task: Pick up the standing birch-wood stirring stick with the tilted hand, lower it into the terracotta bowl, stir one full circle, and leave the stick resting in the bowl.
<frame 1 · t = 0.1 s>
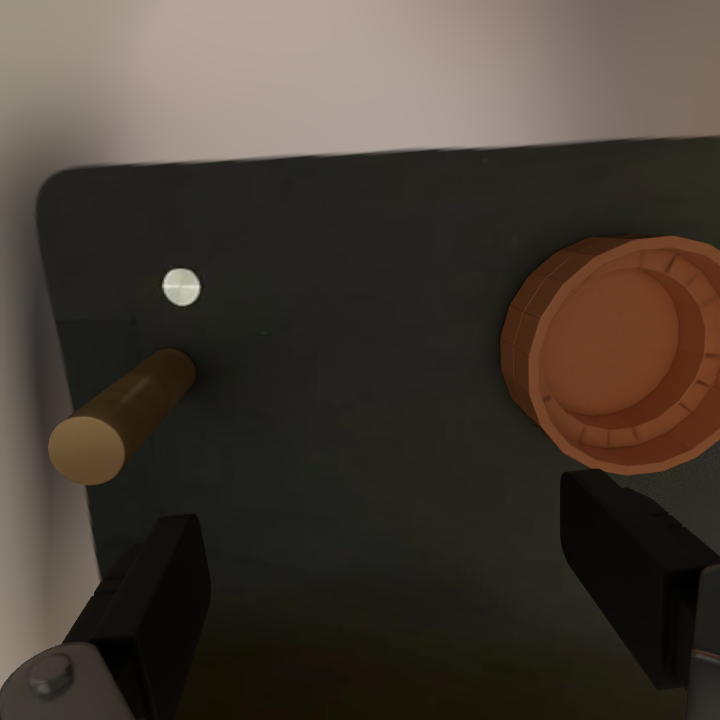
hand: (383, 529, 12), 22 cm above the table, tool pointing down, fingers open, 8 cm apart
bowl: (599, 340, 34), on the table
stick: (171, 371, 33), on the table
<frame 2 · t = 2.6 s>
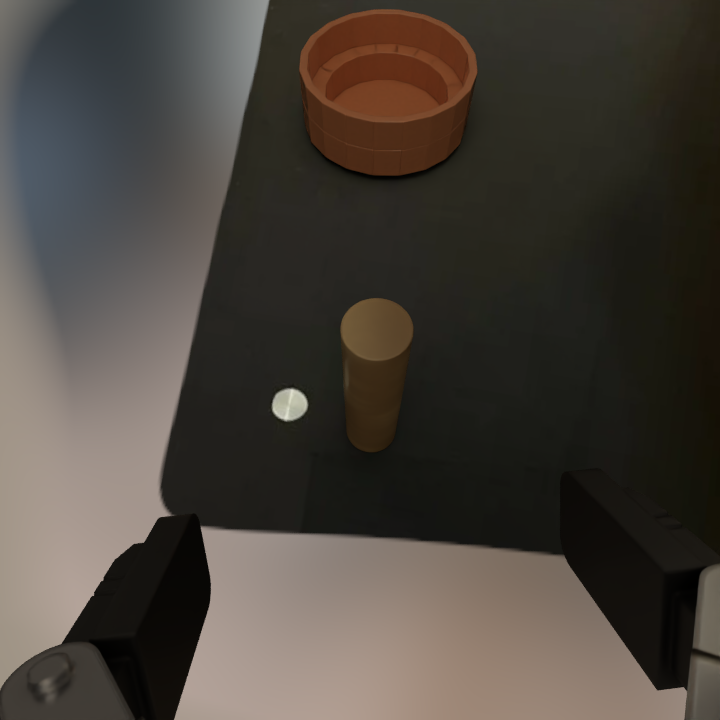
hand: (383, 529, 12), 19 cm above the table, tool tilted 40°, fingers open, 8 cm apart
bowl: (385, 123, 45), on the table
stick: (371, 428, 33), on the table
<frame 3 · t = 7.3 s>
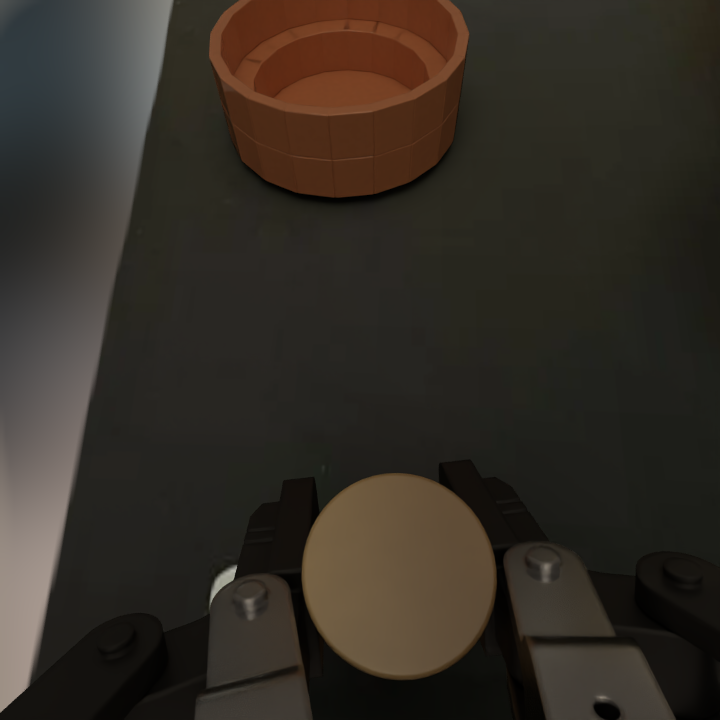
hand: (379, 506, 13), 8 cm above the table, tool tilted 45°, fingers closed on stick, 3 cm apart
bowl: (344, 127, 32), on the table
stick: (386, 627, 19), on the table, touching gripper
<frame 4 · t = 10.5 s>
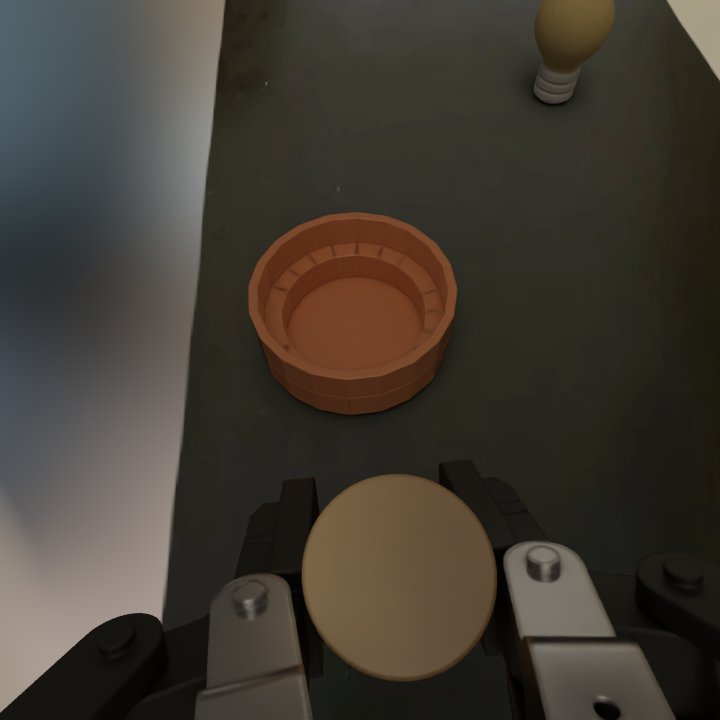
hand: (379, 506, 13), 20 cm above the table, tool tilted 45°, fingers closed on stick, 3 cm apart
bowl: (355, 334, 39), on the table
stick: (386, 627, 19), point 12 cm above the table, touching gripper
light bulb: (550, 98, 52), on the table
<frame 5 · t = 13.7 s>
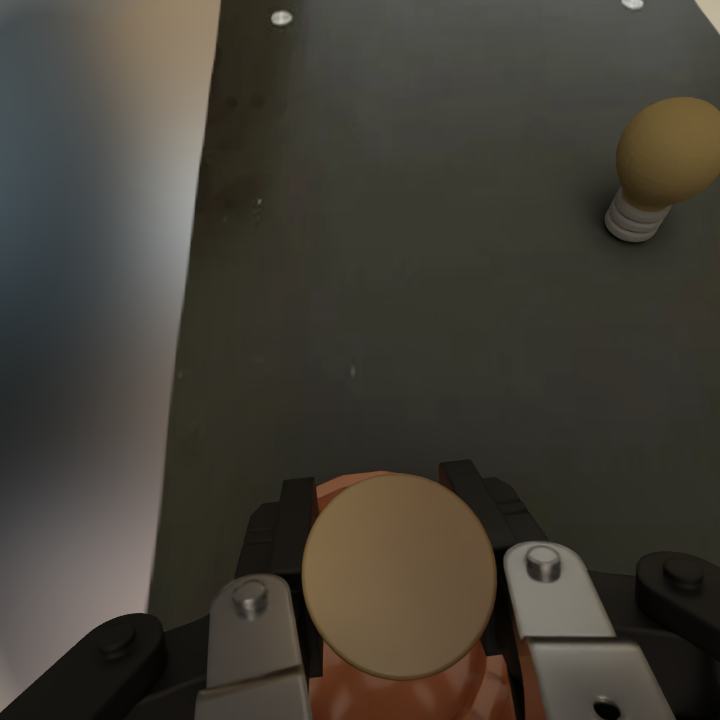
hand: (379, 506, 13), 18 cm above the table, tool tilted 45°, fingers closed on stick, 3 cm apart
bowl: (379, 634, 27), on the table
stick: (386, 627, 19), point 10 cm above the table, touching gripper
light bulb: (625, 230, 41), on the table
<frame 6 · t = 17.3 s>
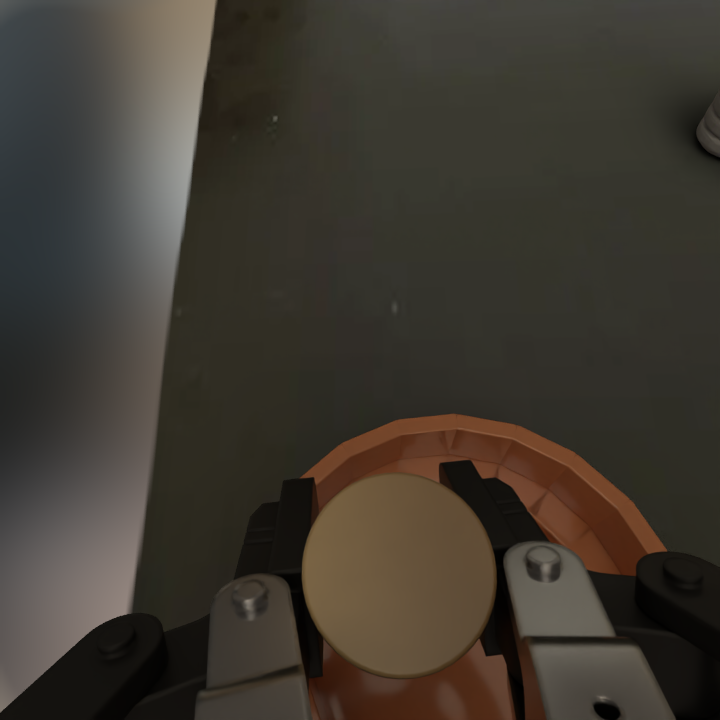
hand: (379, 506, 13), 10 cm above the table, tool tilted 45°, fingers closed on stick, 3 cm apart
bowl: (443, 638, 20), on the table
stick: (386, 626, 19), point 2 cm above the table, touching gripper
when the fingers open (9 cm above the table, at t = 20.1 s): stick stays where it is, resting on bowl.
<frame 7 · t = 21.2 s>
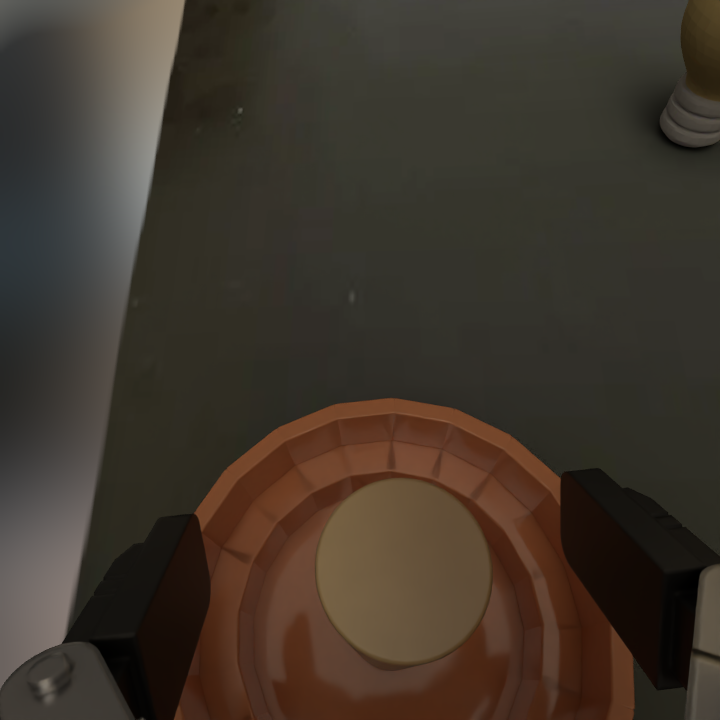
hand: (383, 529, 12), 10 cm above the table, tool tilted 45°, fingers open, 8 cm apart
bowl: (387, 625, 20), on the table
stick: (390, 622, 19), point 1 cm above the table, touching bowl
light bulb: (685, 136, 33), on the table
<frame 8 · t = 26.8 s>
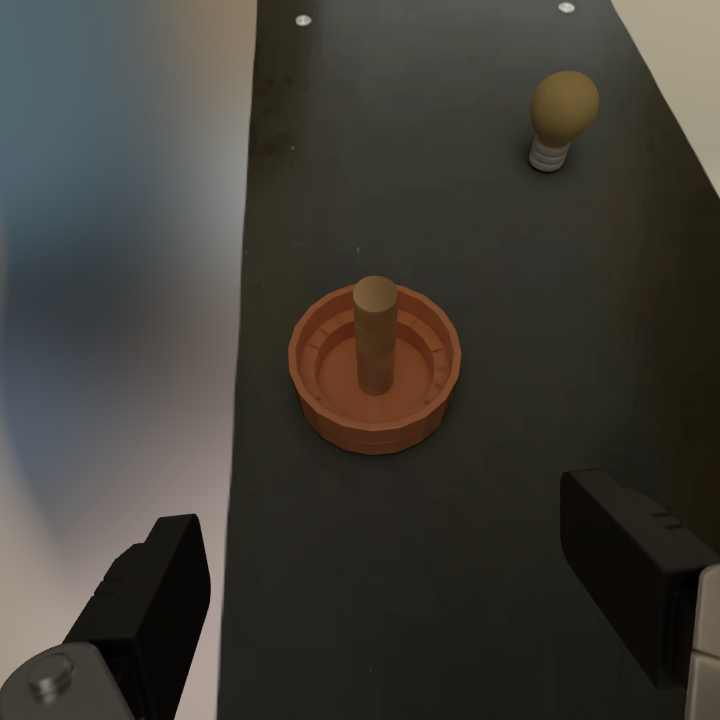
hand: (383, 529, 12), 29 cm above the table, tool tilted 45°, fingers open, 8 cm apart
bowl: (374, 383, 46), on the table
stick: (375, 380, 45), point 1 cm above the table, touching bowl
light bulb: (544, 165, 59), on the table
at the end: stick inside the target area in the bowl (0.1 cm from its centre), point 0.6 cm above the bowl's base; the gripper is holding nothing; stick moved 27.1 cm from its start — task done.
